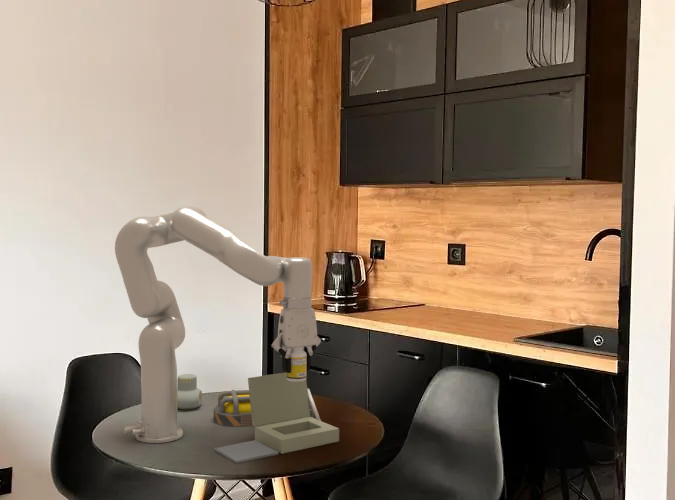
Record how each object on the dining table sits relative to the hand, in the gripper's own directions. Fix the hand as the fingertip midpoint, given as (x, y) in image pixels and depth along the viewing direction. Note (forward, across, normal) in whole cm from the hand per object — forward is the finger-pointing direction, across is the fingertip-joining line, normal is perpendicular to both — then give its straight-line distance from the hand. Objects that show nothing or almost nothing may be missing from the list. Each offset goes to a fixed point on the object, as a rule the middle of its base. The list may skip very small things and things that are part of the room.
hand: (296, 370), depth 198 cm
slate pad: (+19, -16, -1) cm, 25 cm away
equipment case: (+19, +1, +2) cm, 19 cm away
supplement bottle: (+3, 0, 0) cm, 3 cm away
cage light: (+20, +4, +24) cm, 31 cm away
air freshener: (+20, -10, +48) cm, 53 cm away
